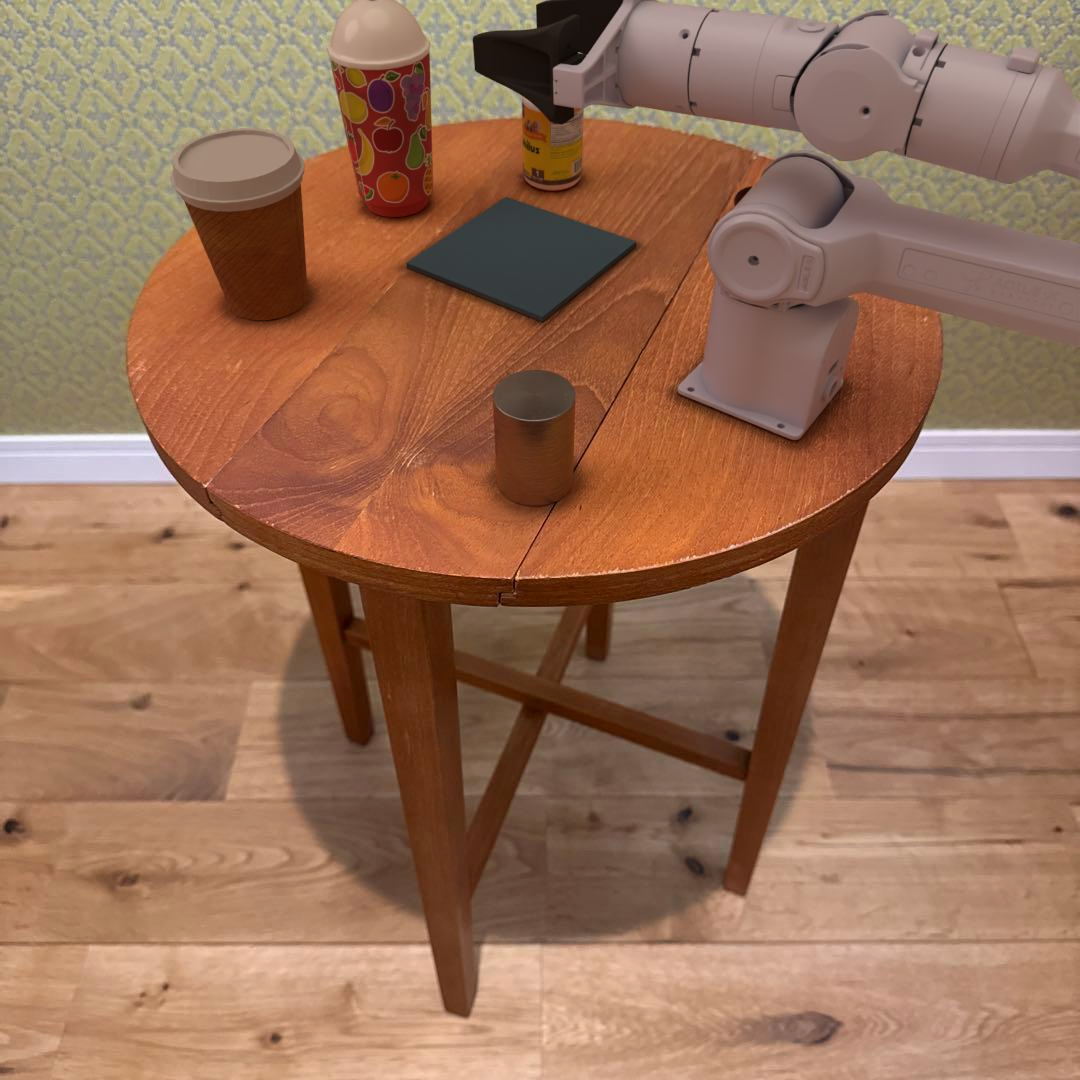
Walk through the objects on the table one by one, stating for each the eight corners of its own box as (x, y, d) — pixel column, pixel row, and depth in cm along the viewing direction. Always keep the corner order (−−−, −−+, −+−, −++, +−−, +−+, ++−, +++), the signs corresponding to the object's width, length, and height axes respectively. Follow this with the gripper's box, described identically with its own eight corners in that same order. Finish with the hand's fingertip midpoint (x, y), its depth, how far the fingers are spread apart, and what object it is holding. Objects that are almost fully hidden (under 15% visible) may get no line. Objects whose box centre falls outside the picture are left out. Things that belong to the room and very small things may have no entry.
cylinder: (587, 473, 64) (591, 388, 59) (544, 517, 61) (544, 431, 56) (526, 444, 66) (524, 359, 61) (481, 485, 63) (475, 400, 58)
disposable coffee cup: (184, 301, 78) (139, 155, 69) (281, 255, 83) (250, 114, 74) (255, 348, 74) (216, 199, 65) (352, 297, 78) (328, 151, 70)
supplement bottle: (516, 170, 93) (513, 59, 86) (570, 162, 95) (572, 52, 87) (532, 197, 90) (531, 83, 82) (589, 188, 91) (593, 75, 83)
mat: (636, 246, 84) (636, 241, 83) (542, 322, 76) (542, 316, 75) (506, 201, 89) (506, 196, 89) (406, 267, 81) (406, 262, 81)
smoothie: (393, 173, 93) (365, -64, 79) (461, 197, 90) (444, -46, 75) (332, 208, 88) (290, -37, 74) (401, 235, 85) (371, -17, 71)
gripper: (759, -42, 59) (562, -61, 64) (658, 21, 49) (439, -6, 55) (746, 81, 63) (564, 54, 69) (651, 159, 54) (450, 122, 59)
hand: (508, 35), depth 62 cm, fingers open, 7 cm apart
